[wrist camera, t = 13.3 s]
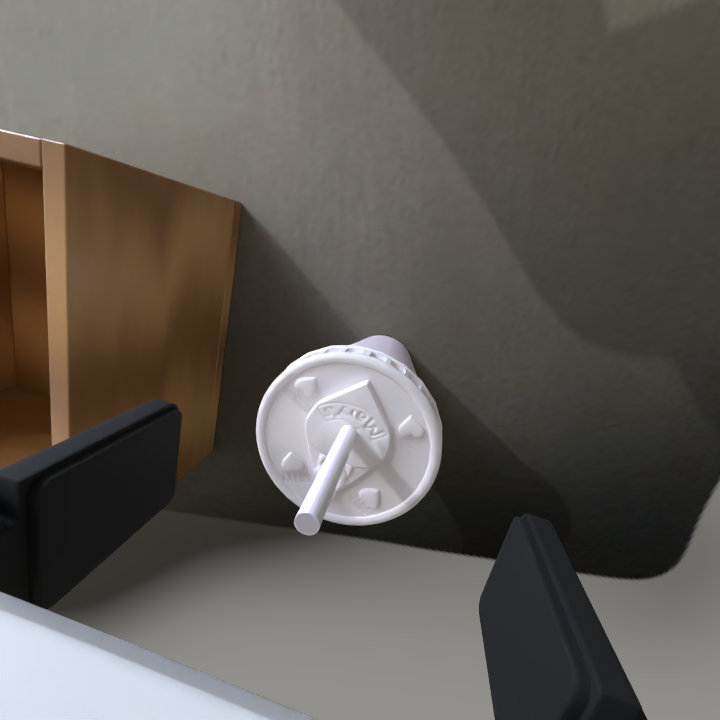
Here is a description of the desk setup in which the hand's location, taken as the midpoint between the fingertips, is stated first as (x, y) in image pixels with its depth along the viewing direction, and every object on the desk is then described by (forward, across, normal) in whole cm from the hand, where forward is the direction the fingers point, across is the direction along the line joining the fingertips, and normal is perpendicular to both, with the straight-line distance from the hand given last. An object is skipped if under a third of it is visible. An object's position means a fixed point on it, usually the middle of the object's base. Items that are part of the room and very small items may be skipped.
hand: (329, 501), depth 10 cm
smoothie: (+12, 0, -1) cm, 12 cm away
